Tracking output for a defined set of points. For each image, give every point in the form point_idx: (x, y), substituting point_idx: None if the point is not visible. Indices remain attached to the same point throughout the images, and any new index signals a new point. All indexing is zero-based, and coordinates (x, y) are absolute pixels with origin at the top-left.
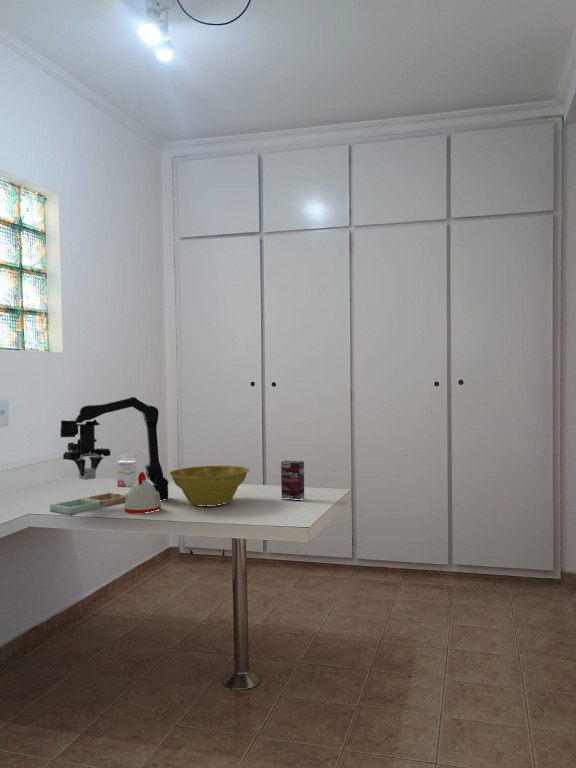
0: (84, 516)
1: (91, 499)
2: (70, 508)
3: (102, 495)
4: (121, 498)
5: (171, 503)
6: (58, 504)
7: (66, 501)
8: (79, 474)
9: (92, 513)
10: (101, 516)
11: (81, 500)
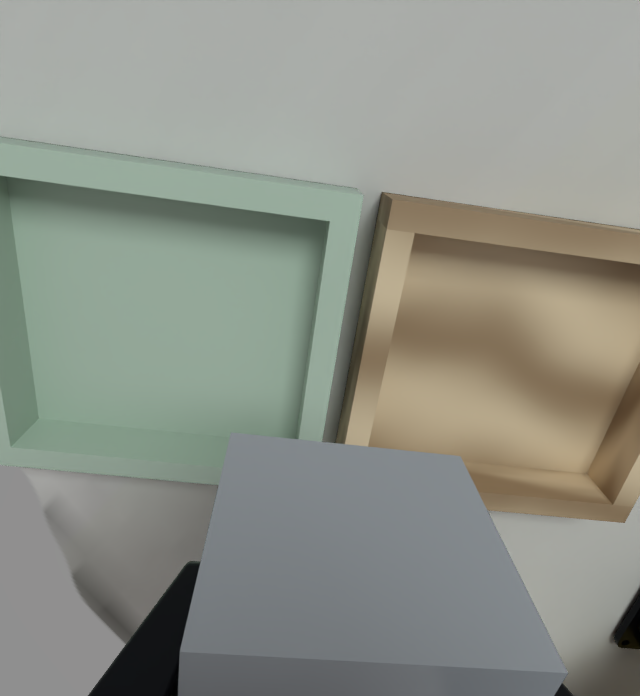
0: (68, 542)
1: (366, 354)
2: (2, 462)
3: (627, 260)
4: (531, 507)
5: (590, 692)
6: (41, 177)
7: (156, 181)
8: (216, 501)
9: (158, 526)
10: (137, 615)
11: (325, 250)
